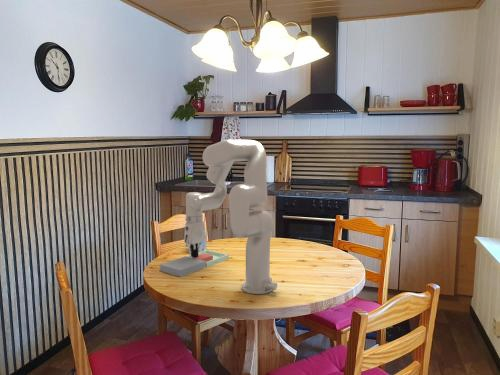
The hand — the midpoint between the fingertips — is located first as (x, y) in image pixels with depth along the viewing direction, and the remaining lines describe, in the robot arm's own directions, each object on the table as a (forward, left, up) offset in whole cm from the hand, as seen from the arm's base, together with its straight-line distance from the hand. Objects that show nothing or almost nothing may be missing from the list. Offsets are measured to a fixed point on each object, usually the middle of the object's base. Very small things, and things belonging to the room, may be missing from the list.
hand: (194, 256), depth 184 cm
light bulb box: (+14, -17, -4) cm, 22 cm away
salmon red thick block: (0, -5, -3) cm, 6 cm away
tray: (0, -8, -4) cm, 9 cm away
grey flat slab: (-1, +8, -4) cm, 9 cm away
